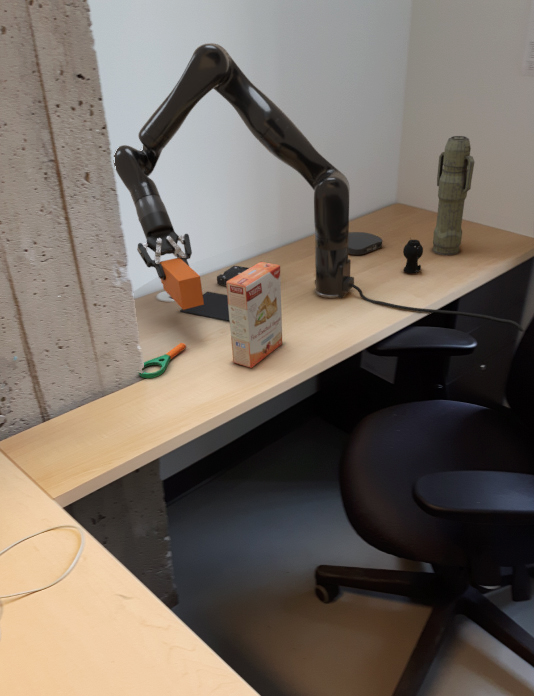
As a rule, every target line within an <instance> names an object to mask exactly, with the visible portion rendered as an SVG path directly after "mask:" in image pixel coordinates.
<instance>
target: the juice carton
mask: <svg viewBox="0 0 534 696" xmlns="http://www.w3.org/2000/svg"><path fill="white" fill-rule="evenodd" d="M160 264H162V267H163V270H164V272H165V275H166V280H162V279H160V282H161V284H162V288H163V290H164V291H165V292H166V293H167V295H169V297H170V298H171V299H172V300H173V301H175V303H176V304H177V305H178V306H179V307H180V308H181V310H182V309H183V310H184V309H188V308H192V307H196V306H200V305H204V302H203V288H202V279H201V275H199V274H198V273H197V272H196V271H195V270H194V269H193V268H192V267H191V266H190V265H189V266H188V265H187V264H186V263H185V262H184V261H183V260H181V259H180V258H177V257H175V258H171V259H166V260H160Z"/></svg>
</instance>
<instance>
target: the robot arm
mask: <svg viewBox="0 0 534 696" xmlns="http://www.w3.org/2000/svg"><path fill="white" fill-rule="evenodd" d="M212 90H214V91H215V92H216V93H218V94H219V95H220V96H221V97H222V98H223V99H225V101H227V102H228V103H229V104H230V105H231V106H232V108H233V109H234V110H235V111H236V113H237V114H238V117H240V119H241V120H242V122H243V123H244V125H245V126H246V127H247V129H248V130H249V132H250V133H251V134H252V136H253V137H254V138H255V139H256V140H257V141H258V142H259V143H260V144H261V145H262V146H263V147H264V148H265V149H266V150H267V151H268V152H269V153H270V154H271V155H272V156H273V157H275V158H276V159H278V160H279V161H280V162H282V163H284V164H285V165H287V166H289V167H290V168H291V169H293V170H294V171H296V173H298V174H299V175H300V176H301V177H302V178H303V179H304V180H305V181H306V182H307V184H308V185H309V186H310V188H312V190H313V225H314V244H315V245H314V253H315V255H314V256H315V257H314V261H315V262H314V263H315V268H314V269H315V279H314V285H315V290H314V291H315V292H314V293H315V294H316V295H317V296H318V297H321V298H324V299H343V298H344V297H345V296H347V294H348V293H350V291H351V289H355V291H357V292H358V294H359V296H360V298H361V299H362V300H364V301H365V302H369V303H372V304H374V305H380V306H385V307H389V308H394V309H398V310H403V311H411V312H420V313H430V314H443V315H453V316H464V317H472V318H478V319H482V320H489V321H493V322H497V323H503V324H508V325H512V326H515V328H516V329H518V330H519V332H522V333H523V332H525V330H524V329H523V327H522V326H521V325H520V324H519V323H518V322H517V321H515V320H510V319H504V318H499V317H495V316H490V315H485V314H479V313H473V312H472V313H471V312H465V311H455V310H443V309H442V310H441V309H432V308H421V307H412V306H406V305H399V304H394V303H390V302H387V301H386V302H385V301H381V300H375V299H370V298H368V297H366V296H365V295H364V294H363V291H362V289H361V288H360V287H359V286H357V285H355V277H354V276H351V259H350V258H349V254H348V236H349V231H350V190H351V188H350V182H349V180H348V178H347V177H346V176H345V174H344V173H343V172H341V170H339V169H338V168H337V167H335V166H334V164H332V163H331V162H330V161H328V160H327V158H325V157H324V156H323V155H322V154H321V153H320V152H319V151H318V150H317V149H316V148H315V147H314V145H313V144H312V143H311V141H309V139H308V138H307V136H305V134H303V132H302V131H301V130H300V129H299V127H297V126H296V124H295V123H294V122H293V121H292V119H290V117H288V115H287V114H285V112H284V111H283V110H282V109H281V108H280V107H279V106H278V105H277V104H276V103H275V102H274V101H273V100H271V99H270V98H269V97H268V96H267V95H266V94H265V93H264V92H263V91H262V90H260V89H259V88H258V87H257V86H256V85H255V84H254V83H252V82H251V80H250V79H249V78H248V77H247V76H246V74H245V73H244V72H243V70H242V69H241V68H240V67H239V66H238V65H237V63H236V62H235V61H234V59H233V58H232V57H231V55H230V53H229V52H228V51H227V50H226V49H225V48H224V47H223V46H221V45H220V44H218V43H214V42H213V43H212V42H210V43H208V42H207V43H204V44H201V45H199V46H197V48H196V49H194V51H193V53H192V55H191V57H190V59H189V62H188V63H187V65H186V67H185V69H184V71H183V73H182V75H181V76H180V78H179V79H178V81H177V82H176V84H175V85H174V87H173V88H172V90H171V92H170V93H169V94H168V95H167V96H166V97H165V98H164V100H163V101H162V102H161V104H159V106H158V107H157V108H156V110H155V111H154V112H153V113H152V114H151V115H150V117H149V118H148V119H147V121H146V122H145V123H144V125H142V127H141V128H140V130H139V132H138V139H139V142H140V143H141V144H142V146H143V150H142V151H140V150H139V149H137V148H135V147H133V146H130V145H126V144H124V145H119V146H118V147H119V148H118V147H117V148H118V149H117V148H116V149H117V151H116V150H115V151H116V153H115V152H114V153H115V155H114V154H113V157H115V163H114V160H113V159H112V161H113V166H114V167H115V166H116V169H115V171H116V173H117V175H118V177H119V178H120V180H121V181H122V183H123V185H124V187H125V188H126V189H127V190H128V192H129V194H130V196H131V199H132V202H133V205H134V207H135V211H136V215H137V218H138V222H139V224H140V226H141V229H142V231H143V234H144V237H145V239H146V242H143V243H142V242H139V243H137V248H136V250H137V252H138V254H139V256H140V257H141V259H142V260H143V262H144V264H145V265H146V267H147V268H154V269H155V271H156V273H157V275H158V278H159V279H160V280H161V279H162V280H166V275H165V272H164V270H163V267H162V264H160V262H161V257H162V256H165V255H173V256H174V257H175V258H180V259H181V260H183V261H184V262H185V263H186V264H187V265H188V266H189V267H190V264H189V261H188V260H190V259H191V257H192V254H193V252H192V246H191V245H192V244H191V240H190V235H189V234H188V233H185V234H184V235H179V234H178V233H176V232H175V228H174V226H173V223H172V221H171V218H170V216H169V214H168V213H169V212H168V210H167V208H166V205H165V203H164V202H163V200H162V197H161V195H160V192H159V190H158V189H159V188H158V187H157V184H156V182H154V180H153V179H152V178H150V177H149V176H150V175H152V173H153V172H154V170H155V168H156V166H157V163H158V161H159V160H160V157H161V154H162V152H163V150H164V149H165V148H166V146H167V145H168V144H169V143H170V141H172V140H173V138H174V136H175V135H176V134H177V133H178V131H179V130H180V129H181V127H182V125H183V124H184V122H185V120H186V119H187V117H188V116H189V114H190V113H191V112H192V110H193V109H194V108H195V107H196V106H197V104H198V103H199V102H200V101H201V100H202V99H203V98H204V97H205V96H206V95H207V94H208V93H210V92H211V91H212ZM178 242H180V244H181V245H183V248H184V249H183V250H184V251H183V250H182V248H181V247H180V245H178ZM148 249H149V250H151V251H153V252H154V259H152V257H151V256H150V255H149V253H148Z"/></svg>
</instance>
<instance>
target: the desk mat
mask: <svg viewBox="0 0 534 696" xmlns="http://www.w3.org/2000/svg"><path fill="white" fill-rule="evenodd" d="M202 294H203V293H202ZM203 302H204V305H200V306H196V307H192V308H188V309H184V310H183V309H182V308H181V309H180V310H179V312H180V313H184V314H188V315H189V314H190V315H195V316H199V317H204V318H210V319H214V320H219V321H224V322H229V323H230V320H229V308H228V296H227V294H222V293H218V292H211V291H206V292H205V293H204V294H203Z"/></svg>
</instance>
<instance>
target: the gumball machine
mask: <svg viewBox="0 0 534 696" xmlns="http://www.w3.org/2000/svg"><path fill="white" fill-rule="evenodd" d="M402 250H403V251H402V253H403V257H404V258H405V259H406V263H405V266H404V267H403V270H402V271H403V272H404V273H405V274H408V275H409V274H410V275H413V274H419V273H421V269H422V265H421V264H419V262H418V261H419V259H421V258H422V257H423V254H424V247H423V245H422V244H421V242H420V240H418V239H412V238H411V237H410V238H409V239H408V241H407V243H406V244H405V245H404V247H403V249H402Z"/></svg>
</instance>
